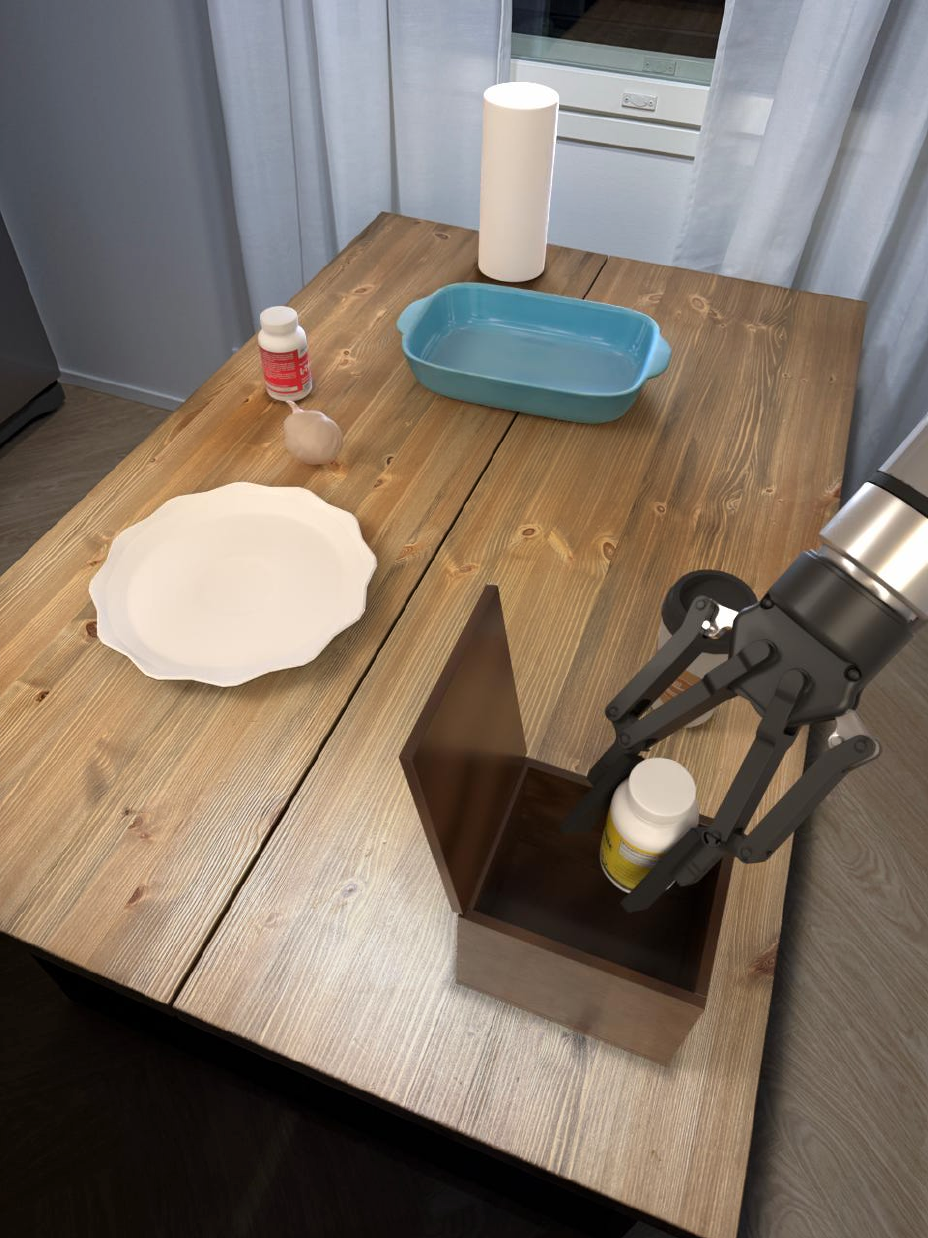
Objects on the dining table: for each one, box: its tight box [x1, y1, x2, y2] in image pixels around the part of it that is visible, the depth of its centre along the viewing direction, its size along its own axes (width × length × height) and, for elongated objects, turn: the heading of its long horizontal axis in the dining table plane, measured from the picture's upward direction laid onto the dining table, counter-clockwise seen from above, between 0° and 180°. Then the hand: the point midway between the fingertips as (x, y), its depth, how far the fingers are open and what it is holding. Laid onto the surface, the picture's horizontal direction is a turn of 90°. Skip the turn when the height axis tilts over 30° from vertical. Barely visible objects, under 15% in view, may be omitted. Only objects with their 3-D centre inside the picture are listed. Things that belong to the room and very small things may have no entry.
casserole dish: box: [396, 282, 672, 425], centre depth 120 cm, size 37×22×7 cm, turn 72°
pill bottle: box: [257, 305, 313, 402], centre depth 116 cm, size 6×6×11 cm
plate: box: [88, 481, 378, 689], centre depth 95 cm, size 29×29×2 cm
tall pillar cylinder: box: [477, 81, 560, 283], centre depth 135 cm, size 11×11×25 cm
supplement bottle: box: [600, 757, 700, 893], centre depth 56 cm, size 5×5×10 cm
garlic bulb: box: [282, 400, 344, 466], centre depth 108 cm, size 7×6×8 cm
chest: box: [455, 755, 736, 1068], centre depth 67 cm, size 17×14×13 cm
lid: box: [397, 583, 528, 915], centre depth 57 cm, size 18×14×1 cm
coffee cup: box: [650, 568, 759, 729], centre depth 81 cm, size 8×8×15 cm
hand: (602, 866), depth 56 cm, fingers closed on supplement bottle, 5 cm apart
